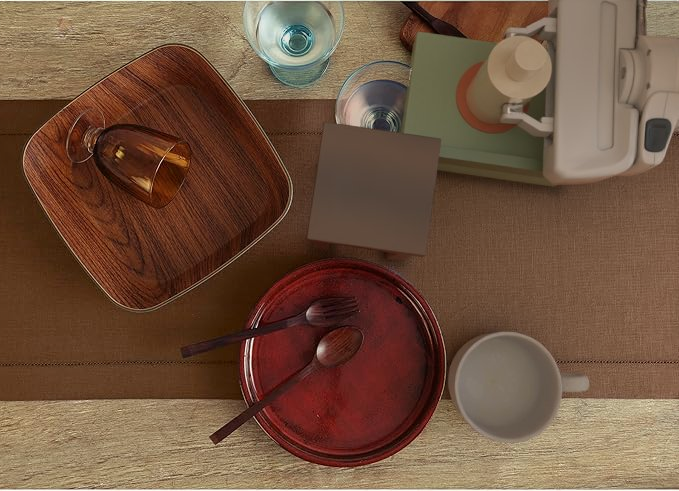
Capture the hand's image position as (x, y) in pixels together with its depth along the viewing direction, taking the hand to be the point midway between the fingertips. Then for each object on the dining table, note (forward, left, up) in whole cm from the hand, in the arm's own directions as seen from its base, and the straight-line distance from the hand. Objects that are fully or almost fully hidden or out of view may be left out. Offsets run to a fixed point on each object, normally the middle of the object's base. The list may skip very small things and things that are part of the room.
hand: (503, 75), depth 59 cm
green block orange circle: (+1, +1, -11) cm, 11 cm away
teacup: (+30, +7, -11) cm, 33 cm away
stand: (+14, -11, -11) cm, 21 cm away
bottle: (0, +1, -7) cm, 7 cm away
